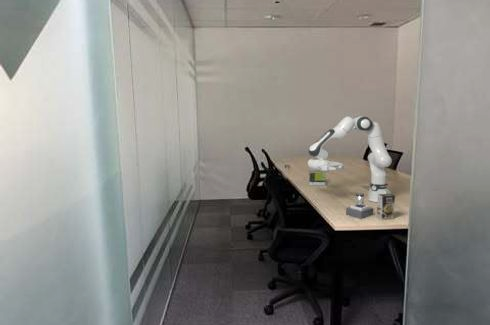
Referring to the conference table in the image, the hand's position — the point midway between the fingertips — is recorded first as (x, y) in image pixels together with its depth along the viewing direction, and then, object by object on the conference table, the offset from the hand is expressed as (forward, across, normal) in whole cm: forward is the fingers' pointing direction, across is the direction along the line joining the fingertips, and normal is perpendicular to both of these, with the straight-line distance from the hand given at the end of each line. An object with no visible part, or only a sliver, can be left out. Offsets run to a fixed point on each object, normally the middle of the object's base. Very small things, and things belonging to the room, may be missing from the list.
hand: (340, 168), depth 249 cm
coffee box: (+36, +2, +30) cm, 47 cm away
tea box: (-65, +50, +30) cm, 87 cm away
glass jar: (+21, -5, +25) cm, 33 cm away
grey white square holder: (+21, -5, +30) cm, 37 cm away
